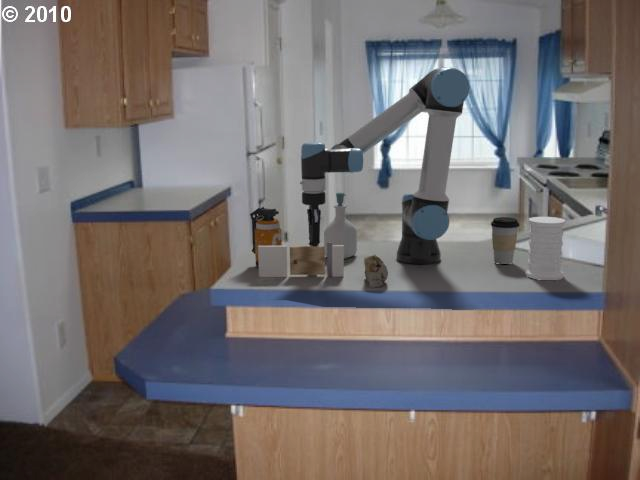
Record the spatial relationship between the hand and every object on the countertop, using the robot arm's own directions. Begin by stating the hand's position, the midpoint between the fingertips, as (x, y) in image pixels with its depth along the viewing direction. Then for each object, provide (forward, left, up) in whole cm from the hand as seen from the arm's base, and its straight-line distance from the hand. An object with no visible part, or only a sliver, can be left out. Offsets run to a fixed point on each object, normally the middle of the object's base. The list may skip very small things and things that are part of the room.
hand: (314, 263), depth 239 cm
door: (+2, +6, -2) cm, 6 cm away
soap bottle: (-8, -22, -3) cm, 24 cm away
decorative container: (-72, +6, -3) cm, 73 cm away
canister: (+17, -9, -3) cm, 19 cm away
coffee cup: (-63, -11, -3) cm, 64 cm away
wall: (+4, +5, -3) cm, 7 cm away
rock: (-19, +12, -3) cm, 23 cm away
